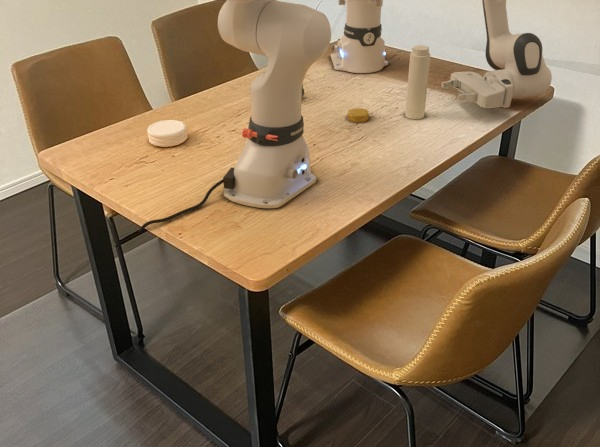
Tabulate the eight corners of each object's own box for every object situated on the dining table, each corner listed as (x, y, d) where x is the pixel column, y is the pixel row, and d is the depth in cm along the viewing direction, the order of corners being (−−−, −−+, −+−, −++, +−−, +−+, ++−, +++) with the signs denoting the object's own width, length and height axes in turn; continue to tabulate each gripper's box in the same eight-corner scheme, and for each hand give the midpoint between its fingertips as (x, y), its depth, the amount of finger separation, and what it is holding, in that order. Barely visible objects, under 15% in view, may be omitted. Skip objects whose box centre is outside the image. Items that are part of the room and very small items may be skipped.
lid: (366, 123, 168) (366, 117, 167) (345, 121, 170) (345, 114, 169) (370, 115, 173) (370, 109, 172) (350, 113, 175) (350, 107, 174)
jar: (413, 110, 176) (419, 43, 166) (428, 115, 173) (435, 47, 162) (401, 115, 173) (406, 47, 163) (416, 120, 170) (422, 51, 159)
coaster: (150, 132, 165) (149, 120, 163) (188, 130, 166) (187, 118, 164) (146, 148, 157) (144, 135, 155) (186, 146, 157) (185, 133, 155)
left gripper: (317, -54, 148) (317, 6, 155) (403, -52, 143) (399, 10, 151) (323, -58, 153) (323, 0, 160) (406, -56, 148) (402, 4, 156)
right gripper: (478, 64, 181) (435, 68, 178) (516, 87, 164) (468, 92, 161) (475, 85, 184) (432, 89, 182) (512, 109, 168) (465, 115, 165)
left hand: (360, 5), depth 155 cm, fingers open, 8 cm apart
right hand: (449, 91), depth 171 cm, fingers open, 8 cm apart
